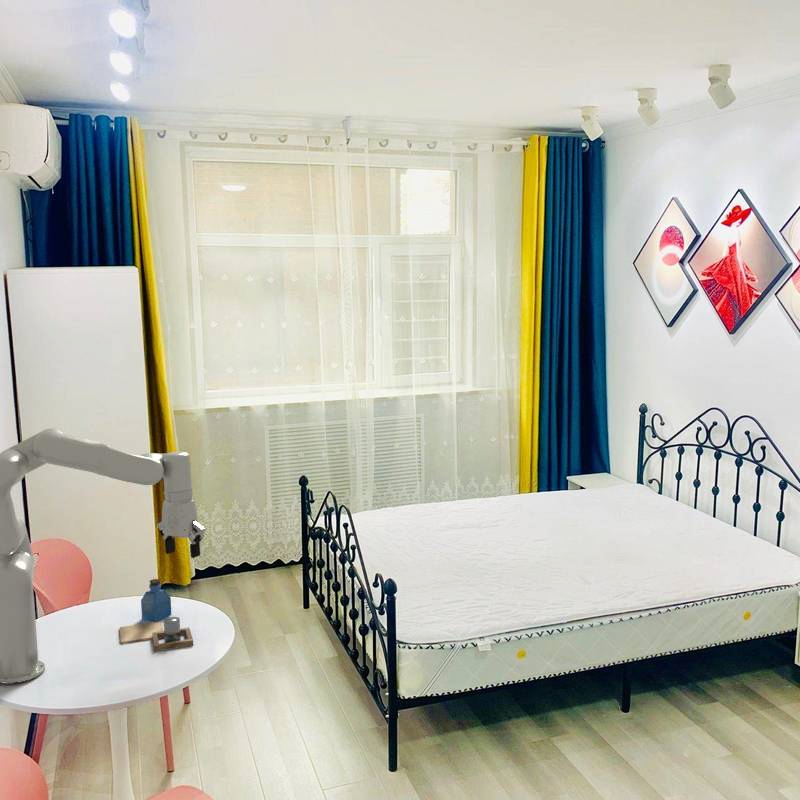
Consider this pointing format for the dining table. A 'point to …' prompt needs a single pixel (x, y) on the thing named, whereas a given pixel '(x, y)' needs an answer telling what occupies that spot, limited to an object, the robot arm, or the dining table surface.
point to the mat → (139, 632)
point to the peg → (172, 629)
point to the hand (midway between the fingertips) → (182, 554)
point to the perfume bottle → (155, 603)
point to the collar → (176, 643)
